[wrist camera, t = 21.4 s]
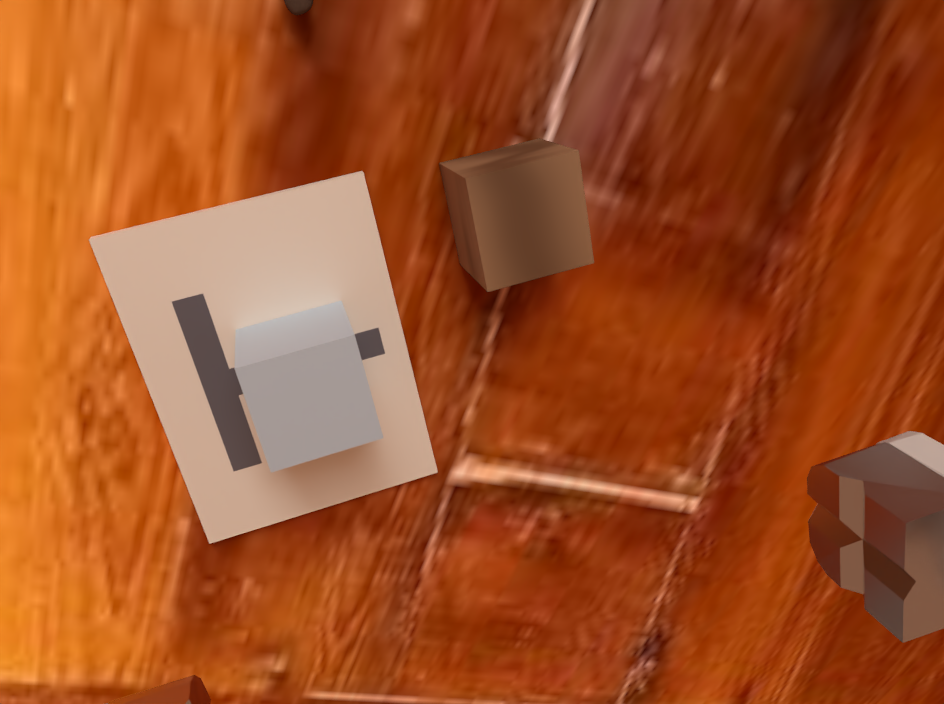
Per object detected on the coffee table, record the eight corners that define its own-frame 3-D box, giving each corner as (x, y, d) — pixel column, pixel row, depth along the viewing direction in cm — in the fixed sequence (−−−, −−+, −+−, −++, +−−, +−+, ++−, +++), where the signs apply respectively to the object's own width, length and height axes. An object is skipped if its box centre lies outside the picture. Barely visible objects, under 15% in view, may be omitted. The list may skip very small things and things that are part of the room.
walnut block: (539, 138, 38) (578, 150, 34) (554, 238, 40) (594, 262, 36) (438, 163, 37) (465, 178, 33) (459, 264, 39) (487, 292, 35)
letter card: (362, 170, 36) (363, 172, 36) (435, 467, 43) (437, 472, 42) (90, 237, 34) (88, 239, 34) (209, 538, 41) (209, 543, 40)
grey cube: (341, 300, 38) (354, 334, 33) (367, 394, 40) (383, 437, 35) (235, 329, 37) (234, 368, 32) (267, 423, 39) (270, 472, 34)
